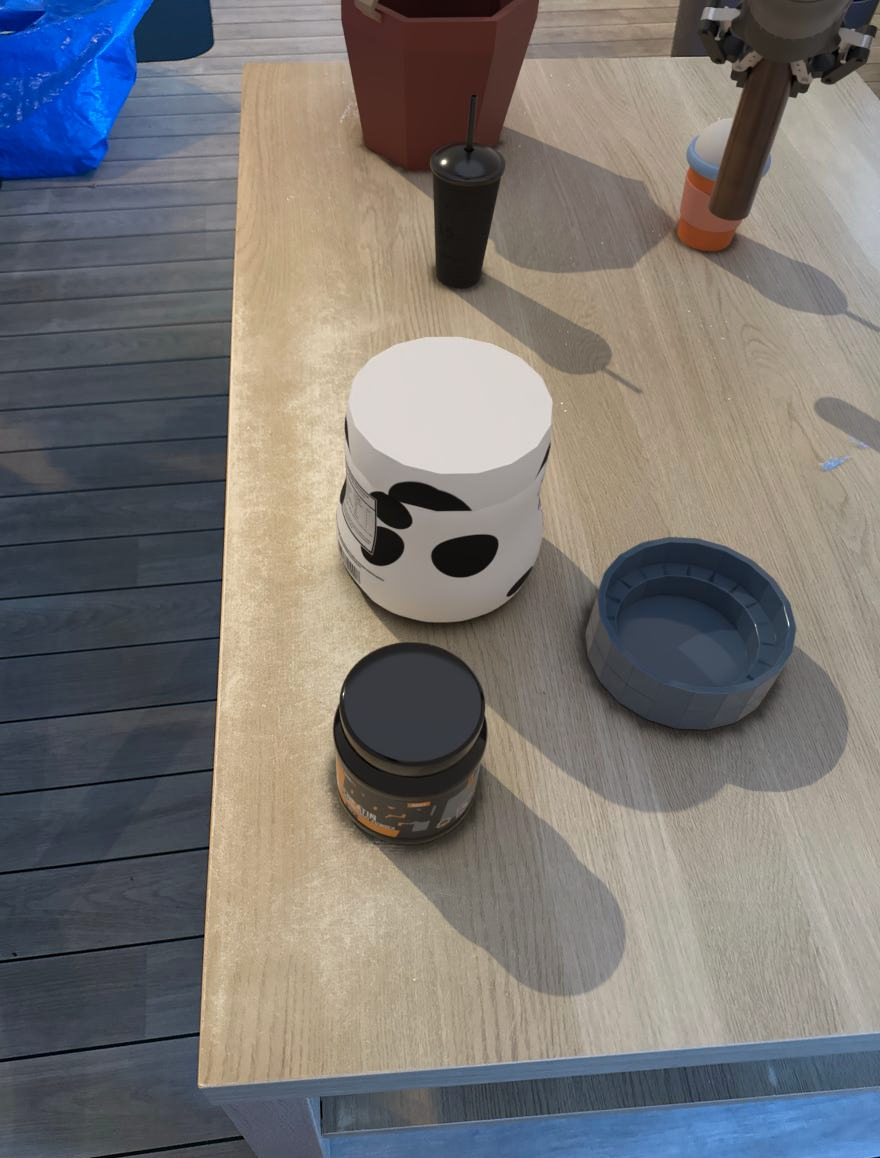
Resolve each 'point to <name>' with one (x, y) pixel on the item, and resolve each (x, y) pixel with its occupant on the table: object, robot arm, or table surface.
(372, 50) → the bucket
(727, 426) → the table surface
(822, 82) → the robot arm
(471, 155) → the drinking cup
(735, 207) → the brown cylinder
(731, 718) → the bowl
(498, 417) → the milk container
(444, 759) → the supplement container
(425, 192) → the table surface
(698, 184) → the cup with straw
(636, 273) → the table surface
